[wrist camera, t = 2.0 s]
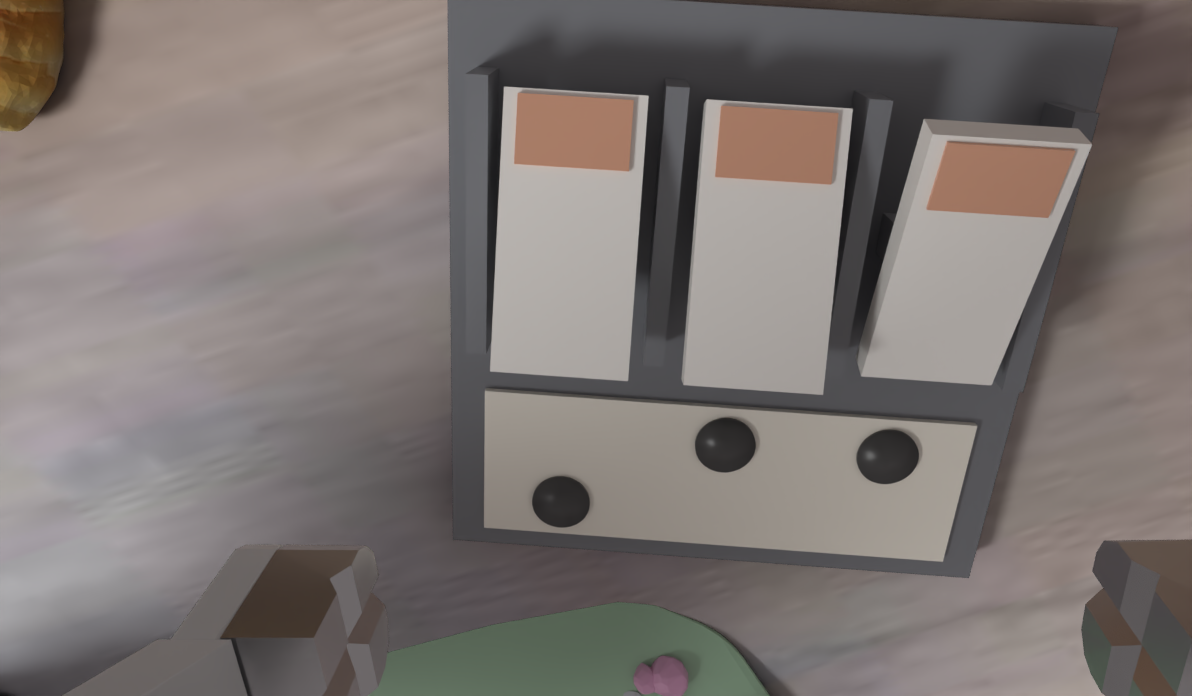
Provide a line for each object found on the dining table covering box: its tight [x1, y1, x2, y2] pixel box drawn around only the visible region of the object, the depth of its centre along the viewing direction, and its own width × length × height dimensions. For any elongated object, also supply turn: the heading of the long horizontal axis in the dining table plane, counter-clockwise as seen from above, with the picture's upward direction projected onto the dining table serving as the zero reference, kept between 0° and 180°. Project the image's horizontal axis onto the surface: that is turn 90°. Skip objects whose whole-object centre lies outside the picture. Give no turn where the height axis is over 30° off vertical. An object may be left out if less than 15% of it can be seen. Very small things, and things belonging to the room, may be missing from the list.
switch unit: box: [448, 0, 1118, 578], centre depth 36 cm, size 24×24×4 cm
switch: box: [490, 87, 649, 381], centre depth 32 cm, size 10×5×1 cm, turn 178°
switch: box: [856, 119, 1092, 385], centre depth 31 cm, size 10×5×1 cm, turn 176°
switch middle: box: [681, 99, 853, 395], centre depth 32 cm, size 10×5×1 cm, turn 178°
